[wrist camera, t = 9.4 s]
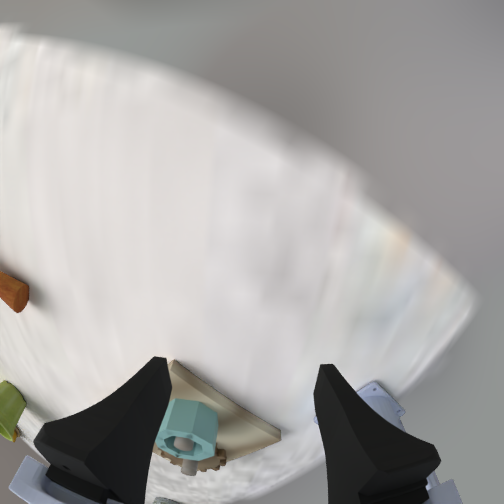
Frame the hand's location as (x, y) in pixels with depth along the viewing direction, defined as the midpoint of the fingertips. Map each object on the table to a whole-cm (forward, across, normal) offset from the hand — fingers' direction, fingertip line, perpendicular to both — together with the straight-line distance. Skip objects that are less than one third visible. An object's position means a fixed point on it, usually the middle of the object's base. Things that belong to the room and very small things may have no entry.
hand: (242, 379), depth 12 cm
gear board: (+9, +7, +18) cm, 22 cm away
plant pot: (+10, +42, +25) cm, 49 cm away
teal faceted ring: (+8, +6, +14) cm, 17 cm away
